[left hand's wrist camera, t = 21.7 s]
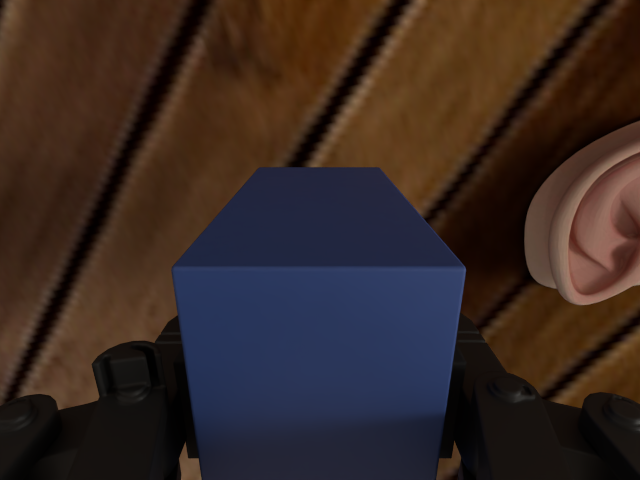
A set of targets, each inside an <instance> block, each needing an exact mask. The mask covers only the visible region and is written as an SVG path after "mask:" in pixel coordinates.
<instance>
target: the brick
mask: <svg viewBox="0 0 640 480" xmlns="http://www.w3.org/2000/svg"><path fill="white" fill-rule="evenodd" d="M171 271H172V278H173V284H174V291H175V298H176V305H177V312H178V319H179V326H180V333H181V339H182V346H183V353H184V360H185V367H186V374H187V381H188V388H189V395H190V401H191V408H192V415H193V422H194V429H195V436H196V443H197V450H198V456H199V463H200V470H201V477H202V480H436V475H437V469H438V462H439V455H440V448H441V441H442V434H443V427H444V420H445V413H446V406H447V399H448V392H449V385H450V378H451V371H452V364H453V357H454V350H455V343H456V336H457V329H458V322H459V315H460V308H461V301H462V294H463V287H464V280H465V273H466V268H465V266H464V265H463V264H462V263H461V262H460V260H459V259H458V258H457V257H456V256H455V255H454V253H453V252H452V251H451V250H450V249H449V248H448V246H447V245H446V244H445V243H444V242H443V241H442V240H441V238H440V237H439V236H438V235H437V234H436V233H435V231H434V230H433V229H432V228H431V227H430V226H429V224H428V223H427V222H426V221H425V220H424V219H423V218H422V216H421V215H420V214H419V213H418V212H417V211H416V209H415V208H414V207H413V206H412V205H411V204H410V202H409V201H408V200H407V199H406V198H405V197H404V196H403V194H402V193H401V192H400V191H399V190H398V189H397V187H396V186H395V185H394V184H393V183H392V182H391V181H390V179H389V178H388V177H387V176H386V175H385V174H384V172H383V171H382V170H381V169H380V168H378V167H260V168H258V169H257V170H256V172H255V173H254V174H253V175H252V176H251V177H250V178H249V180H248V181H247V182H246V183H245V184H244V185H243V186H242V188H241V189H240V190H239V191H238V192H237V193H236V194H235V196H234V197H233V198H232V199H231V200H230V201H229V203H228V204H227V205H226V206H225V207H224V208H223V209H222V211H221V212H220V213H219V214H218V215H217V216H216V217H215V219H214V220H213V221H212V222H211V223H210V224H209V225H208V227H207V228H206V229H205V230H204V231H203V232H202V233H201V235H200V236H199V237H198V238H197V239H196V240H195V241H194V243H193V244H192V245H191V246H190V247H189V248H188V249H187V251H186V252H185V253H184V254H183V255H182V256H181V258H180V259H179V260H178V261H177V262H176V263H175V264H174V266H173V267H172V270H171Z"/></svg>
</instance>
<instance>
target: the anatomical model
mask: <svg viewBox="0 0 640 480" xmlns="http://www.w3.org/2000/svg"><path fill="white" fill-rule="evenodd" d="M524 244H525V256H526V262H527V266H528V269H529V272H530V274H531V276H532V277H533V278H534V279H535V280H536V281H537V282H538V283H540V284H542V285H544V286H547V287H551V288H557V289H558V291H559V293H560V294H561V296H562V297H563V298H564V299H565V300H567V301H569V302H570V303H573V304H577V305H587V304H592V303H596V302H600V301H602V300H605V299H608V298H610V297H612V296H614V295H616V294H619V293H620V292H622V291H624V290H626V289H628V288H629V287H631V286H634V285H640V121H637V122H635V123H632V124H630V125H627V126H625V127H623V128H621V129H618V130H616V131H614V132H612V133H610V134H608V135H606V136H604V137H602V138H600V139H598V140H596V141H594V142H592V143H591V144H589V145H588V146H586V147H584V148H583V149H581V150H580V151H578V152H577V153H575V154H574V155H573V156H571V157H570V158H569V159H568V160H566V161H565V162H564V163H563V164H562V165H560V166H559V167H558V168H557V169H556V170H555V171H554V172H553V173H552V174H551V175H550V176H549V177H548V178H547V180H546V181H545V182H544V183H543V184H542V186H541V187H540V188H539V190H538V191H537V193H536V194H535V196H534V198H533V200H532V202H531V204H530V207H529V209H528V213H527V217H526V223H525V237H524Z"/></svg>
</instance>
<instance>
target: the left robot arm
mask: <svg viewBox="0 0 640 480" xmlns="http://www.w3.org/2000/svg"><path fill="white" fill-rule="evenodd" d="M92 368H93V372H94V376H95V380H96V384H97V388H98V392H99V396H100V397H99V399H98V401H95V402H91V403H88V404H84V405H79V406H75V407H70V408H66V409H61V410H58V407H57V403H56V401H55V400H54V399H53V398H52V397H51V396H49V395H43V394H35V395H27V396H23V397H20V398H17V399H14V400H11V401H9V402H7V403H5V404H3V405H1V406H0V480H181V469H180V463H179V457H180V454H181V452H182V449H183V446H184V444H185V441H186V447H187V453H188V458H199V456H198V450H197V443H196V436H195V429H194V422H193V415H192V408H191V401H190V395H189V388H188V381H187V374H186V367H185V360H184V353H183V346H182V339H181V333H180V326H179V319H178V315H177V316H176V317H175V318H173V319H172V320H170V321H169V322H168V323H167V325H166V326H165V328H164V329H163V331H162V332H161V335H159V337H158V338H157V339H156V341H155V343H152V342H148V341H131V342H127V343H122V344H119V345H117V346H114V347H112V348H110V349H108V350H106V351H105V352H103V353H102V354H100V355H99V356H98V357H97V358H96V359H95V361H94V362H93V363H92ZM454 440H455V443H456V445H457V448H458V450H459V453H460V455H461V463H460V469H459V475H458V480H640V404H638V403H636V402H634V401H633V400H631V399H628V398H625V397H622V396H619V395H616V394H611V393H603V392H599V393H593V394H590V395H588V396H587V397H586V398H585V399H584V402H583V406H582V409H581V408H577V407H572V406H568V405H564V404H559V403H555V402H551V401H547V400H544V399H541V396H540V395H539V393H538V392H537V390H536V389H535V388H534V387H533V386H532V385H531V384H529V383H528V382H527V381H526V380H524V379H522V378H520V377H518V376H516V375H514V374H510V373H507V372H506V371H505V369H504V368H503V366H502V365H501V363H500V362H499V360H498V359H497V357H496V356H495V354H494V353H493V352H492V350H491V349H490V347H489V346H488V344H487V343H485V340H484V338H483V337H482V335H481V334H479V331H478V329H477V328H476V327H475V325H474V324H473V322H472V321H471V320H470V319H468V318H467V317H466V316H464V315H463V314H461V313H460V315H459V322H458V329H457V336H456V343H455V350H454V357H453V364H452V371H451V378H450V385H449V392H448V399H447V406H446V413H445V420H444V427H443V434H442V441H441V448H440V455H439V458H452V452H453V445H454Z"/></svg>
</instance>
